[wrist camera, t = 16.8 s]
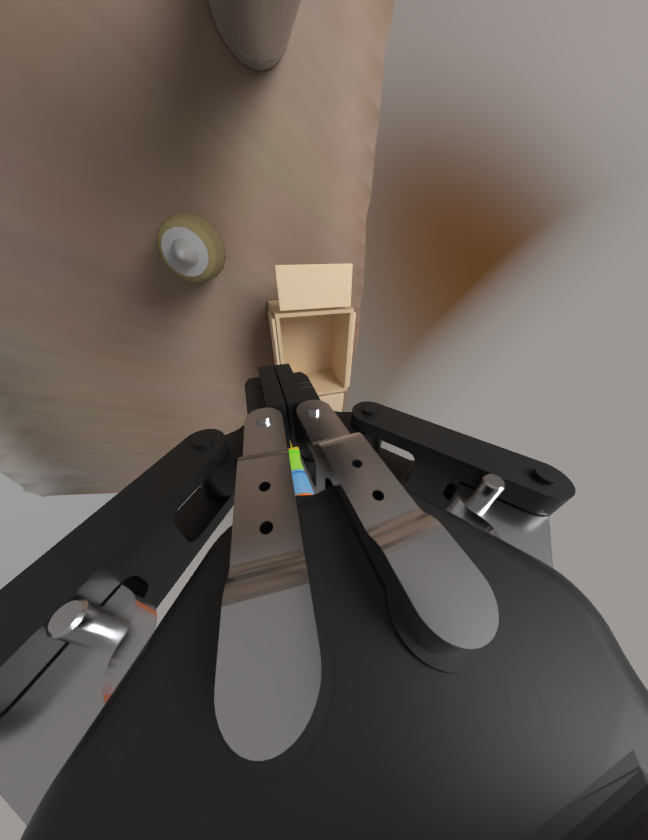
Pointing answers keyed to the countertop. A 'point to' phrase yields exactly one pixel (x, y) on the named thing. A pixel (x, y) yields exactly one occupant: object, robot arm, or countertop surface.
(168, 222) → the squeeze bottle
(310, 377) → the carton
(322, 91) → the countertop surface
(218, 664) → the robot arm
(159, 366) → the countertop surface
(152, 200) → the countertop surface
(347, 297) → the flap
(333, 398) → the flap
